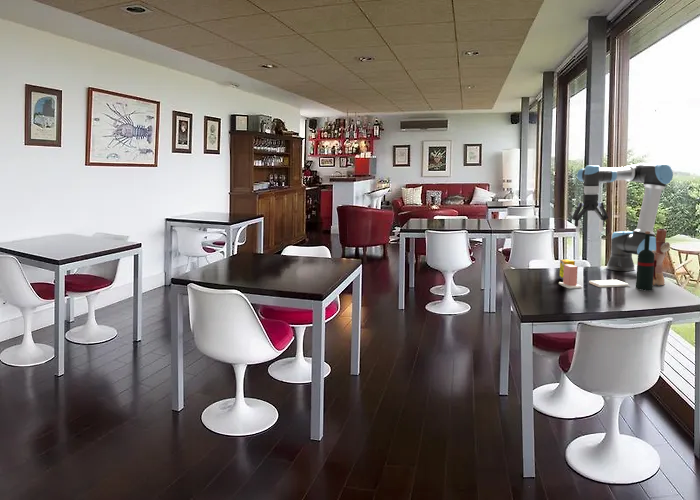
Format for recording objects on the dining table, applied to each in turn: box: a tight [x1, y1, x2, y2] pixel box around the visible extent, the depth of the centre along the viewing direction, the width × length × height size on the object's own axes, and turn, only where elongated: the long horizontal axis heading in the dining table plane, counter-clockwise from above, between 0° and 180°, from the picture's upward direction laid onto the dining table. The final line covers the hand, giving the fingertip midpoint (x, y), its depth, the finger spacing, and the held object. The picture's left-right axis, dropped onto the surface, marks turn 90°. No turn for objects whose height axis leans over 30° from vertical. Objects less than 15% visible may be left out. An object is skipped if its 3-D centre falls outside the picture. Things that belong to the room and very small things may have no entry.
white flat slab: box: [588, 279, 630, 288], centre depth 310 cm, size 16×11×1 cm
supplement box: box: [559, 259, 576, 281], centre depth 324 cm, size 6×6×11 cm
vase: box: [652, 228, 671, 287], centre depth 306 cm, size 10×7×30 cm
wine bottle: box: [635, 231, 657, 292], centre depth 297 cm, size 8×10×30 cm
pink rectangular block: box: [558, 264, 582, 290], centre depth 307 cm, size 7×11×11 cm, turn 7°
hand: (589, 232), depth 320 cm, fingers open, 13 cm apart
